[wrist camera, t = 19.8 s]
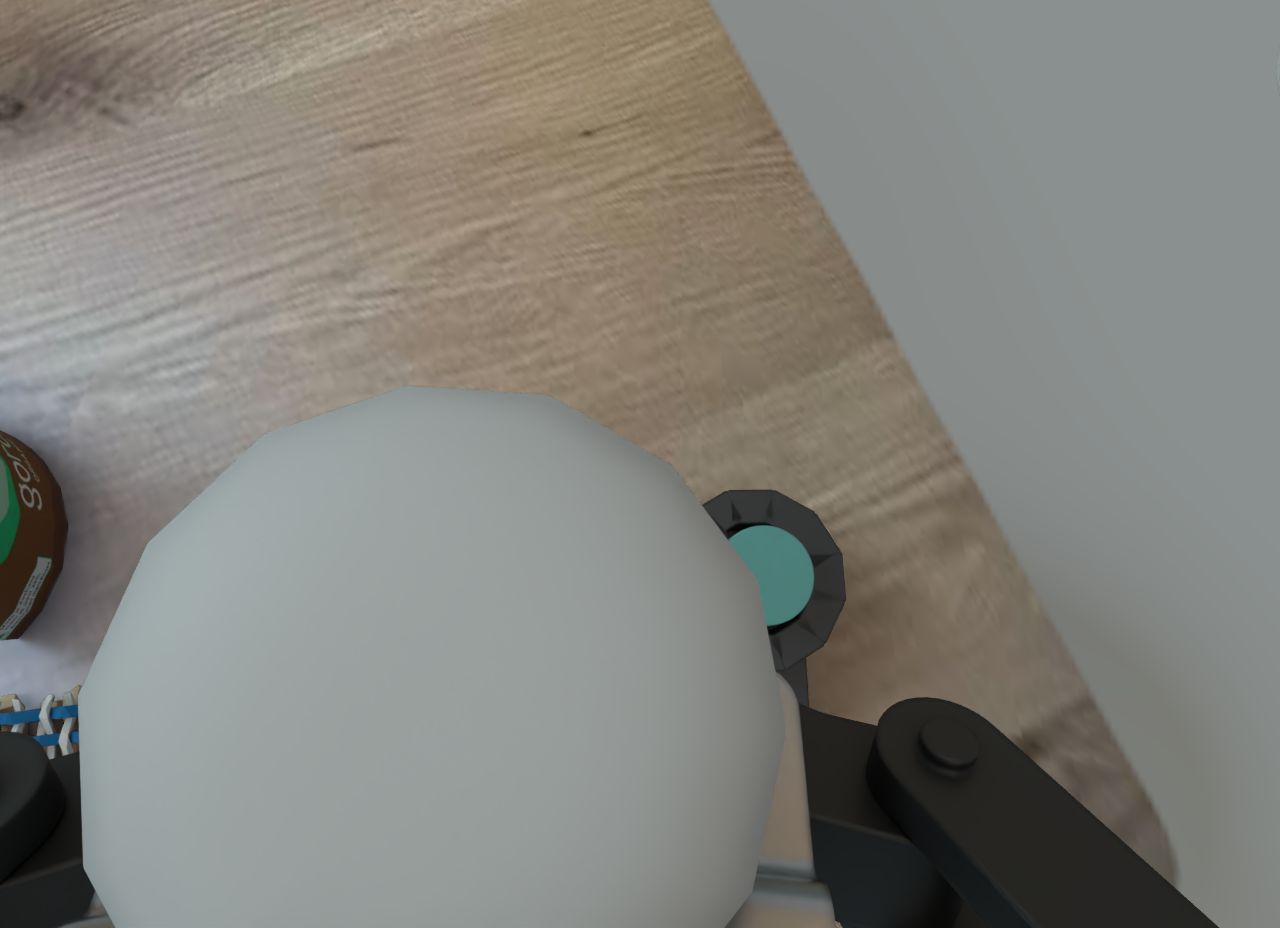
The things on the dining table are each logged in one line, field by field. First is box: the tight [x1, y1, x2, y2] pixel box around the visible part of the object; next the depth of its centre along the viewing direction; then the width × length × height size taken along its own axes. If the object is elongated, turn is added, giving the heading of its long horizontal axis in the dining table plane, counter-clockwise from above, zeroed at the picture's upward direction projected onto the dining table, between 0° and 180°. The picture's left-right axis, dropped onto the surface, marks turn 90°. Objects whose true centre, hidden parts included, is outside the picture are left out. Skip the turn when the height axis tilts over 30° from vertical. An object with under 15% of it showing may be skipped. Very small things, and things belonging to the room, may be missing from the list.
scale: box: [702, 490, 846, 707], centre depth 28 cm, size 15×13×4 cm
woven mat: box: [0, 685, 82, 759], centre depth 26 cm, size 10×11×2 cm
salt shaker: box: [78, 386, 787, 928], centre depth 11 cm, size 6×6×13 cm
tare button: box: [728, 525, 814, 626], centre depth 27 cm, size 3×3×2 cm
